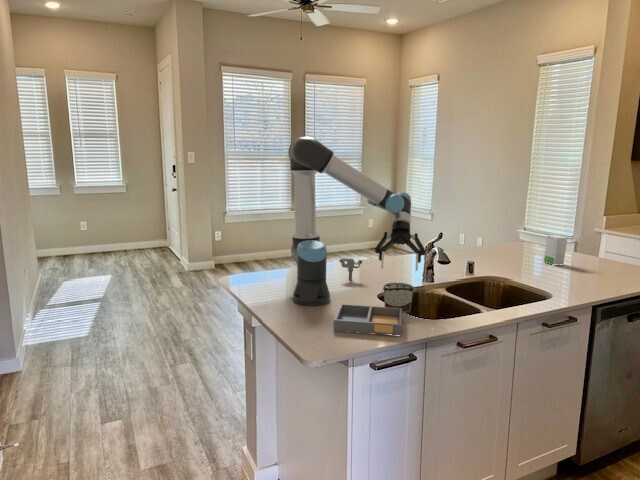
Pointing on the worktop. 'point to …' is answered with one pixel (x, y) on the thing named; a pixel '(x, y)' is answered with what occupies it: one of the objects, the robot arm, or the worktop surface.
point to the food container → (398, 295)
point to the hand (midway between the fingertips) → (399, 268)
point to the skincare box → (555, 249)
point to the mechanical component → (350, 265)
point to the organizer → (368, 319)
